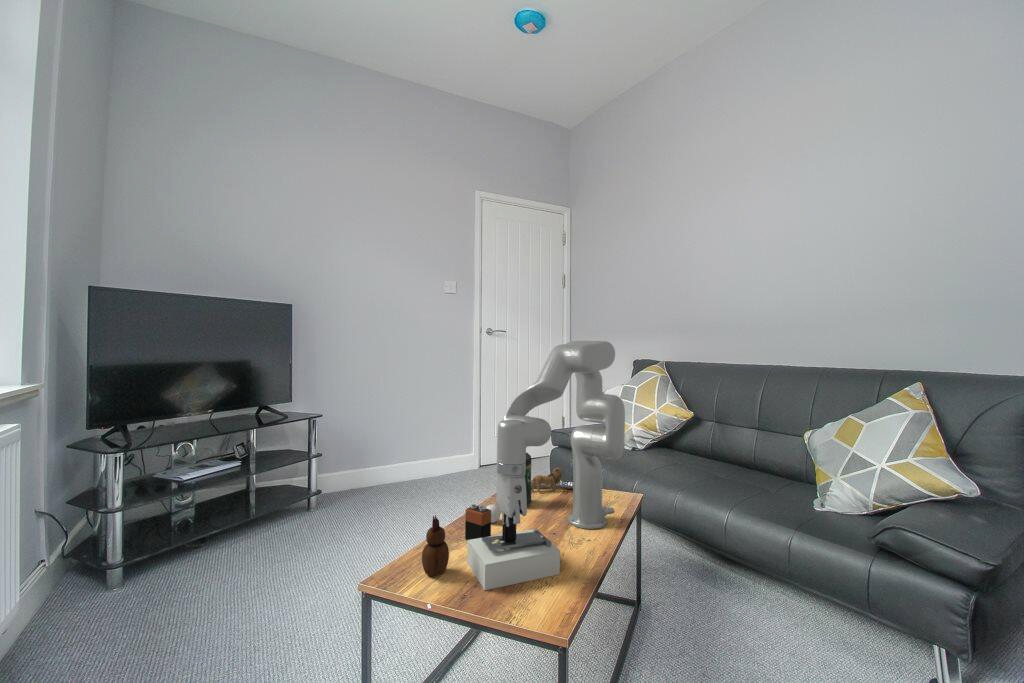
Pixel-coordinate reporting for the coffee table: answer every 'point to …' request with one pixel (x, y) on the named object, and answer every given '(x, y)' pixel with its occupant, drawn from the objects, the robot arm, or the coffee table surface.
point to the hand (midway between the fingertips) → (509, 540)
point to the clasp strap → (521, 540)
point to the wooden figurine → (435, 550)
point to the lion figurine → (547, 480)
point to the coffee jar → (528, 478)
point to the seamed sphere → (494, 512)
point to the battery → (477, 522)
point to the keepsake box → (512, 562)
